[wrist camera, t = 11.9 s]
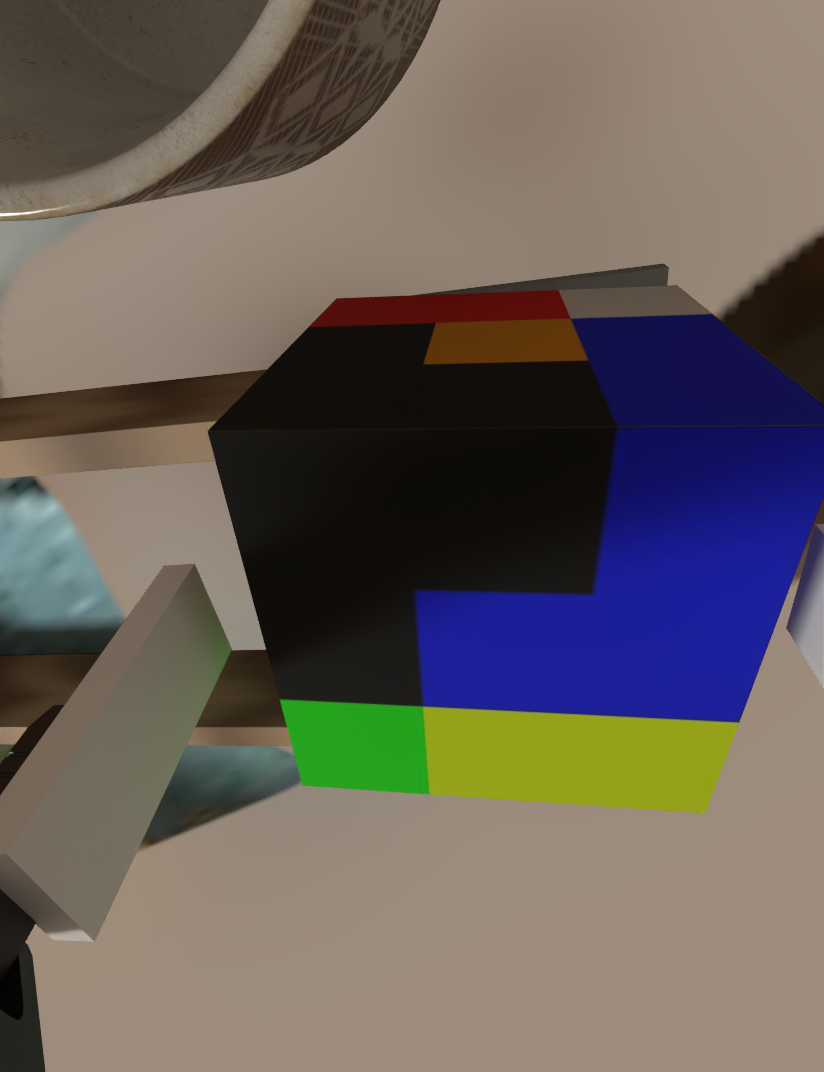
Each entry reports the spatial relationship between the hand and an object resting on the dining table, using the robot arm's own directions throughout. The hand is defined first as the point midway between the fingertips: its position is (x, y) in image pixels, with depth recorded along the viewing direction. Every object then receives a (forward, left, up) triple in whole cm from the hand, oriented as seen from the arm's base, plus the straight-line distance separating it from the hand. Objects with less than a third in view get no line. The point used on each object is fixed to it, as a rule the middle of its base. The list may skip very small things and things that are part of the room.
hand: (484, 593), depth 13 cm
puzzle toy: (0, 0, -9) cm, 9 cm away
